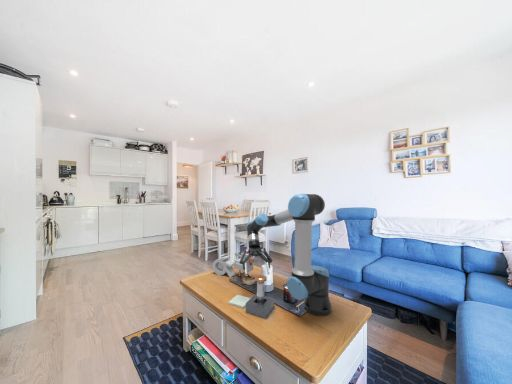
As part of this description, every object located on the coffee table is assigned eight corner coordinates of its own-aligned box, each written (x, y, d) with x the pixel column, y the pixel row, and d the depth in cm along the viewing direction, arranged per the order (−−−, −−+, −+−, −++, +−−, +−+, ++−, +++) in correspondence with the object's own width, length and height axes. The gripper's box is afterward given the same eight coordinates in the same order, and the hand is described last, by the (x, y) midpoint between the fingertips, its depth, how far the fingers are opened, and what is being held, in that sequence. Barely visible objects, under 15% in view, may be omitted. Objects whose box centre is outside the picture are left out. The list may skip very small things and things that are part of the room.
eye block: (274, 307, 119) (274, 298, 119) (265, 318, 108) (266, 309, 108) (255, 302, 124) (255, 293, 124) (245, 312, 113) (245, 303, 113)
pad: (251, 300, 126) (251, 298, 126) (243, 308, 117) (243, 306, 117) (237, 296, 131) (237, 294, 131) (228, 303, 122) (228, 302, 122)
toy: (248, 282, 151) (249, 254, 151) (231, 275, 162) (232, 250, 162) (257, 277, 159) (257, 251, 159) (240, 272, 170) (240, 247, 170)
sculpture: (234, 277, 165) (239, 260, 163) (230, 281, 159) (234, 262, 157) (215, 268, 172) (219, 251, 171) (210, 271, 166) (215, 253, 165)
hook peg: (267, 308, 117) (268, 276, 117) (263, 314, 112) (263, 280, 112) (257, 305, 120) (258, 274, 120) (252, 311, 114) (253, 278, 114)
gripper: (271, 245, 143) (276, 275, 128) (234, 245, 139) (235, 277, 124) (273, 239, 138) (279, 270, 123) (235, 239, 134) (236, 272, 119)
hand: (257, 274), depth 124 cm, fingers open, 13 cm apart
